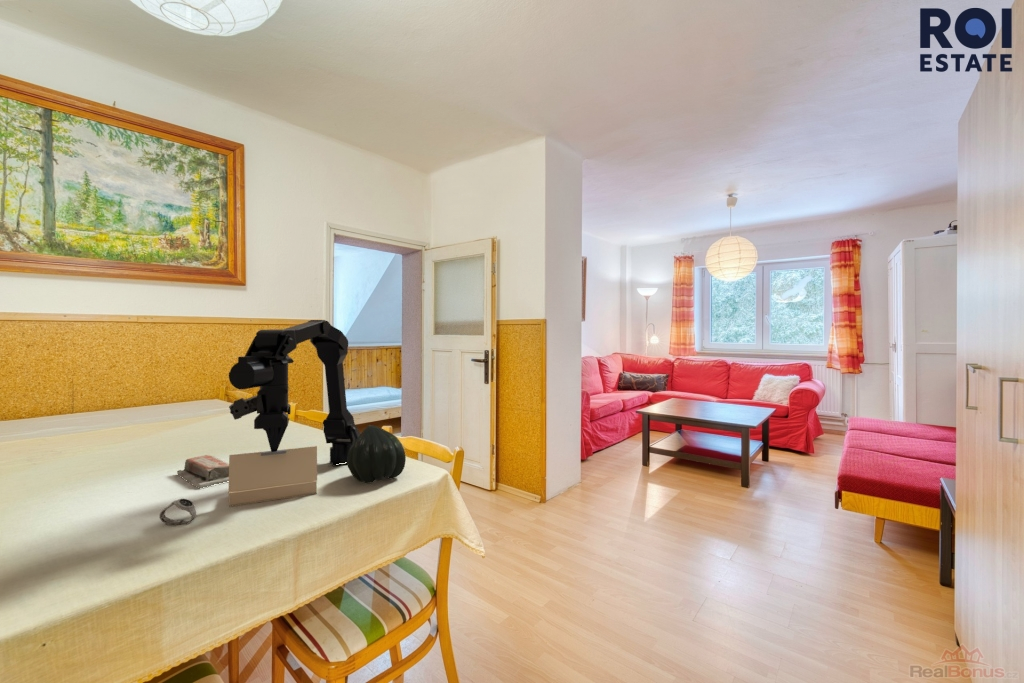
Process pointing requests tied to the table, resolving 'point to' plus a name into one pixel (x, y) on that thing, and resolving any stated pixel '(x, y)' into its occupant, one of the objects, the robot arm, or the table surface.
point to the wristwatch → (181, 504)
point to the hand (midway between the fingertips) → (274, 451)
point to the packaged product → (205, 471)
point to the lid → (272, 468)
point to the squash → (376, 455)
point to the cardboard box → (272, 493)
